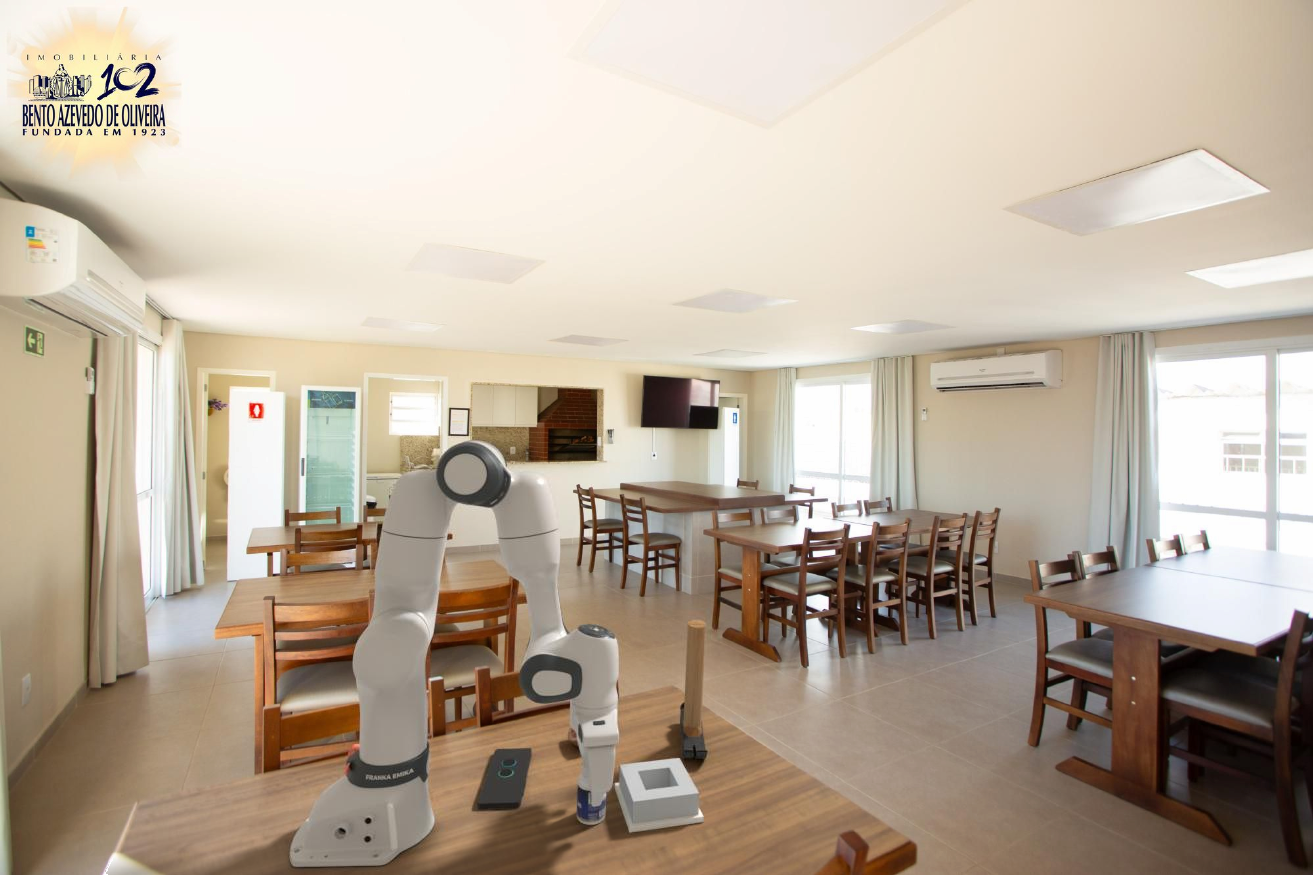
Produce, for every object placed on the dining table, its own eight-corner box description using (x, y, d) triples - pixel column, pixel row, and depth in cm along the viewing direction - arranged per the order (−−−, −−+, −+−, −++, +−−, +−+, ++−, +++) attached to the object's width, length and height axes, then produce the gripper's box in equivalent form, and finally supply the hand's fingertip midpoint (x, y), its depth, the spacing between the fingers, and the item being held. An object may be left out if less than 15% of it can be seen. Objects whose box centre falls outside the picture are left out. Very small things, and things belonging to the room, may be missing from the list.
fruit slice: (600, 753, 134) (601, 730, 134) (570, 757, 132) (571, 734, 132) (593, 735, 142) (593, 714, 142) (565, 738, 140) (565, 717, 140)
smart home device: (532, 747, 133) (520, 801, 113) (532, 754, 133) (520, 810, 113) (494, 747, 133) (476, 802, 113) (494, 755, 133) (475, 812, 113)
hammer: (706, 774, 130) (712, 648, 125) (683, 774, 130) (688, 647, 125) (699, 715, 150) (704, 604, 145) (679, 715, 150) (683, 603, 145)
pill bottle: (573, 811, 113) (574, 759, 113) (600, 805, 115) (601, 754, 115) (581, 828, 108) (582, 774, 108) (609, 822, 110) (610, 768, 110)
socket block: (629, 832, 107) (630, 804, 107) (614, 787, 121) (615, 763, 121) (703, 821, 111) (704, 794, 111) (681, 779, 124) (681, 755, 124)
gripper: (570, 692, 121) (568, 761, 121) (584, 742, 101) (582, 825, 101) (601, 689, 122) (599, 757, 122) (621, 739, 103) (619, 820, 103)
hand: (591, 788), depth 111 cm, fingers open, 8 cm apart
